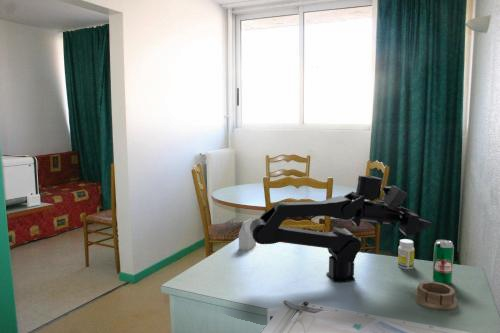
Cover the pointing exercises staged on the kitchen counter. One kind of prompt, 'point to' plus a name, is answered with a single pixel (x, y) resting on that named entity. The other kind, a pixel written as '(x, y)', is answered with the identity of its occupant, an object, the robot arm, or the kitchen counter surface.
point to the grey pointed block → (246, 236)
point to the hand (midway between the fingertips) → (423, 219)
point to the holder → (436, 296)
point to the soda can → (443, 261)
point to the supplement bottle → (406, 254)
